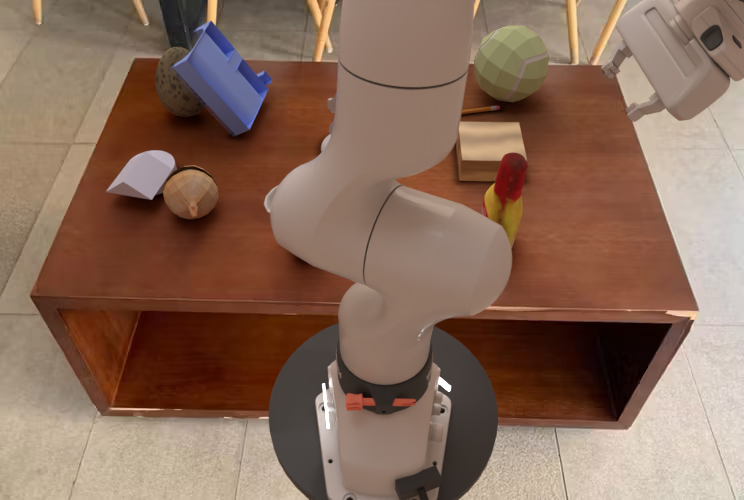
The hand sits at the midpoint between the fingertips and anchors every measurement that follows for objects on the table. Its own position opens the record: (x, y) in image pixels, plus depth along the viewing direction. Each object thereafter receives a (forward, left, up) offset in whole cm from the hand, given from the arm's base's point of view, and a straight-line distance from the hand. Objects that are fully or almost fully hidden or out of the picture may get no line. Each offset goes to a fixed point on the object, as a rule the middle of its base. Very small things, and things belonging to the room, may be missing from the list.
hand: (616, 94), depth 93 cm
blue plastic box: (+37, +62, -20) cm, 75 cm away
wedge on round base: (+8, +77, -28) cm, 82 cm away
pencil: (+41, +7, -30) cm, 51 cm away
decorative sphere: (+45, +4, -16) cm, 48 cm away
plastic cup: (-1, +44, -31) cm, 53 cm away
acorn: (+14, +67, -29) cm, 74 cm away
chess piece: (+26, +40, -31) cm, 57 cm away
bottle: (0, +13, -31) cm, 33 cm away
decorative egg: (+38, +73, -31) cm, 88 cm away
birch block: (+23, +12, -31) cm, 40 cm away
